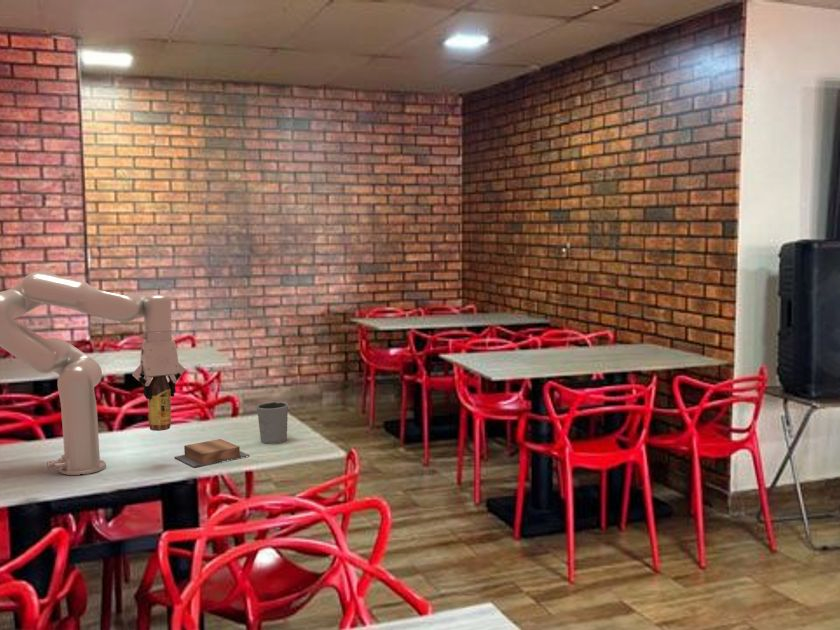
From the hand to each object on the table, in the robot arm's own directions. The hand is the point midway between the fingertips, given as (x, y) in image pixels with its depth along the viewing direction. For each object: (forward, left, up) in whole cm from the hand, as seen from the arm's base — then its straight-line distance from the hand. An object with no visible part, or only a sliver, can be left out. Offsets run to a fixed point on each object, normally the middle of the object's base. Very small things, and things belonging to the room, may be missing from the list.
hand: (159, 396), depth 241 cm
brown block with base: (+14, -2, -21) cm, 25 cm away
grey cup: (+38, +3, -21) cm, 44 cm away
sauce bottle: (0, 0, -10) cm, 10 cm away
